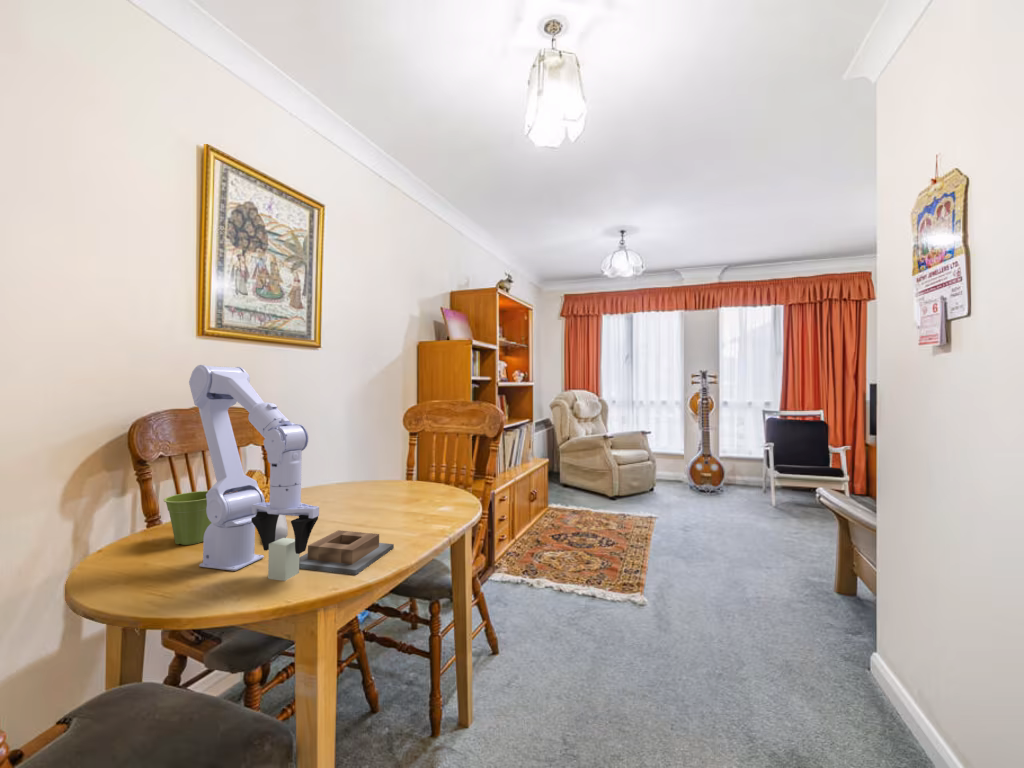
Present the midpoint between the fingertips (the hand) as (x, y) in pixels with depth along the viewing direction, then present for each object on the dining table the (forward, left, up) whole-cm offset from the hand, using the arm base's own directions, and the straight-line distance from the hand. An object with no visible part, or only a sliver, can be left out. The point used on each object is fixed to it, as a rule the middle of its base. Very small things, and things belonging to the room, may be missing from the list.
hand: (284, 550), depth 90 cm
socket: (+6, +12, -5) cm, 14 cm away
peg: (0, 0, -5) cm, 5 cm away
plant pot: (-37, +12, -5) cm, 39 cm away
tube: (-24, +25, -6) cm, 35 cm away
